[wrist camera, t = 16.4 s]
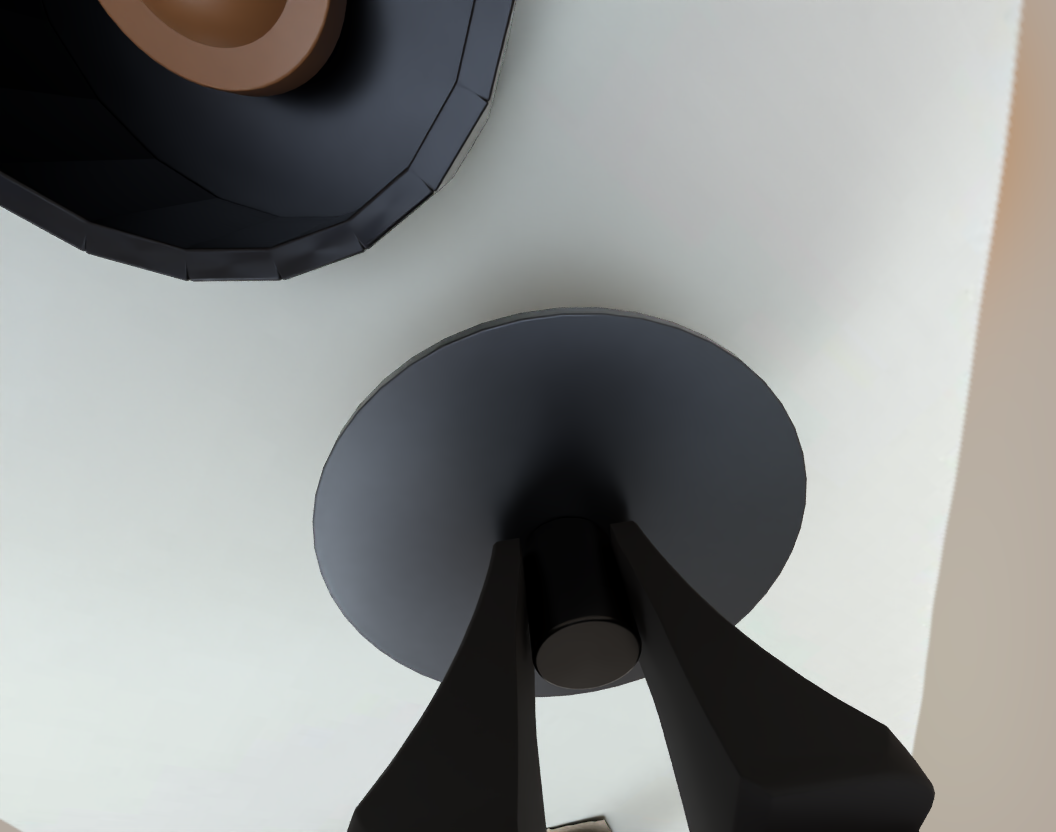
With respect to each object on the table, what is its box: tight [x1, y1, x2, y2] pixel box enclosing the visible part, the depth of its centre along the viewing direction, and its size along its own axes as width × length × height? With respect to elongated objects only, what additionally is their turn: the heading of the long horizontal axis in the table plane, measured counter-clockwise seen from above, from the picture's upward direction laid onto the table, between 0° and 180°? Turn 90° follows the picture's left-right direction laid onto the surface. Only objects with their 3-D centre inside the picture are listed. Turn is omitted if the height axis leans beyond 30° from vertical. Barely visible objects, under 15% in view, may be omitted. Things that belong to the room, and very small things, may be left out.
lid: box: [313, 307, 807, 697], centre depth 12 cm, size 13×13×4 cm
